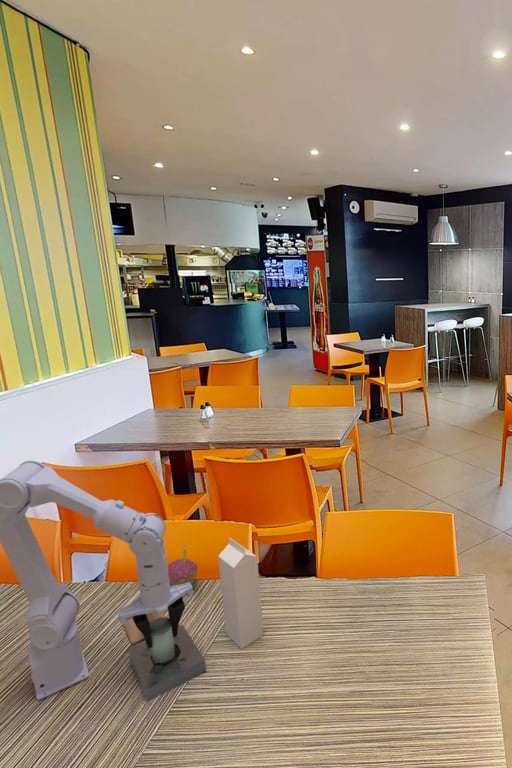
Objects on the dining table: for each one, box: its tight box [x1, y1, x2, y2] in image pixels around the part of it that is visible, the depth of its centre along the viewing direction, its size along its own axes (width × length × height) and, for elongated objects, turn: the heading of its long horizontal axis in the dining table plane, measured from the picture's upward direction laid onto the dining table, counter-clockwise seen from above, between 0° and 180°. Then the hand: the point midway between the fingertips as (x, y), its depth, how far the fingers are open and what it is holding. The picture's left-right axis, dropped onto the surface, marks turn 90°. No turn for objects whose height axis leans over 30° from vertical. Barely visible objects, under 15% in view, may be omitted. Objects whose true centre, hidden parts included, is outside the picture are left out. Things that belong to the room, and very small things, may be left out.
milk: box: [217, 537, 264, 650], centre depth 95 cm, size 6×6×22 cm
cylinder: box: [150, 616, 176, 664], centre depth 89 cm, size 5×5×6 cm
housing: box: [127, 624, 207, 702], centre depth 91 cm, size 12×12×2 cm
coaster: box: [122, 612, 168, 647], centre depth 103 cm, size 9×9×1 cm
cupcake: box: [167, 544, 199, 587], centre depth 114 cm, size 9×8×12 cm
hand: (161, 639), depth 89 cm, fingers closed on cylinder, 5 cm apart
